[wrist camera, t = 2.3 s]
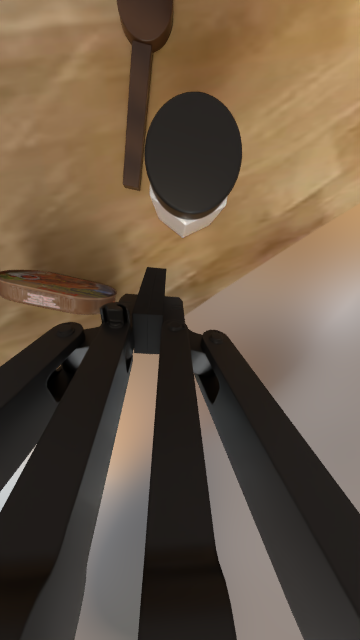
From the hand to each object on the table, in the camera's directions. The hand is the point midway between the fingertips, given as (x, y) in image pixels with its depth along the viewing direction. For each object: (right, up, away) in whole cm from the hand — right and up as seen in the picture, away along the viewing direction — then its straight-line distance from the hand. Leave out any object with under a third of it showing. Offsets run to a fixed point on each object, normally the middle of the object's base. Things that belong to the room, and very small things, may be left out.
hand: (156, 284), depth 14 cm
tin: (-15, +3, +15) cm, 22 cm away
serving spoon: (-3, +25, +7) cm, 27 cm away
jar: (+3, +14, +11) cm, 18 cm away
